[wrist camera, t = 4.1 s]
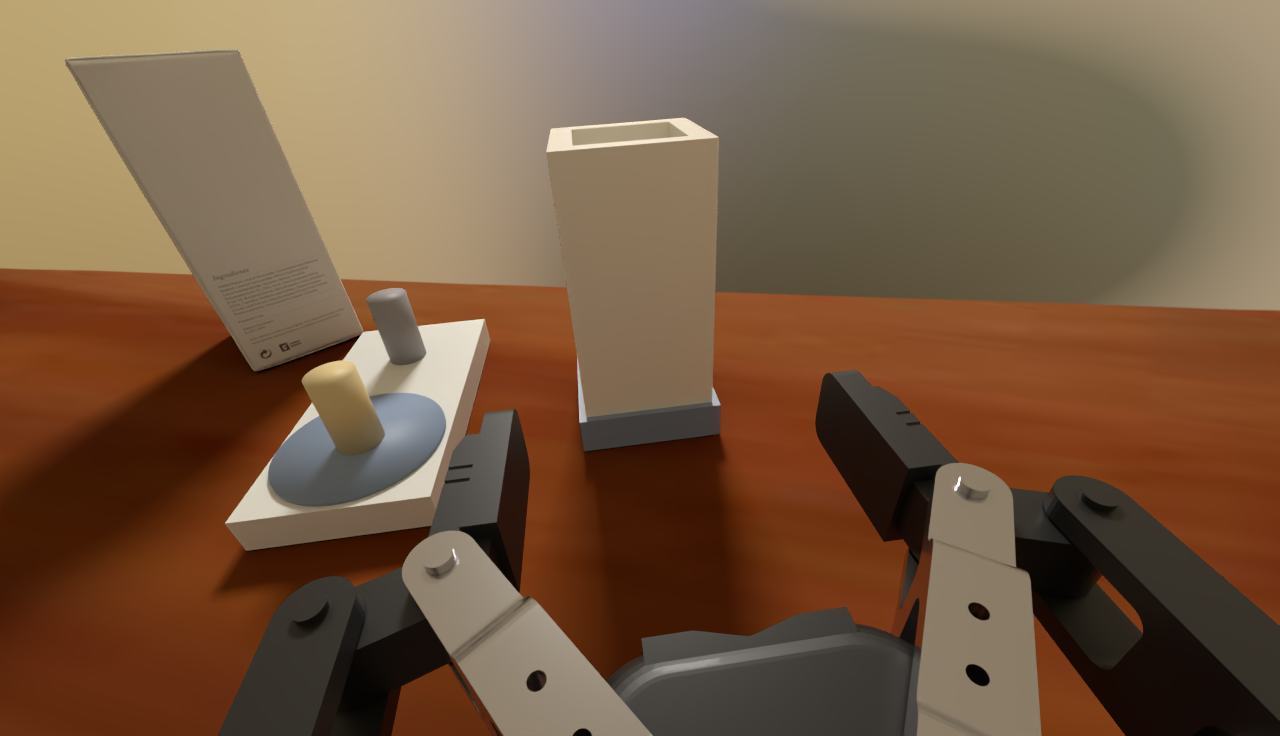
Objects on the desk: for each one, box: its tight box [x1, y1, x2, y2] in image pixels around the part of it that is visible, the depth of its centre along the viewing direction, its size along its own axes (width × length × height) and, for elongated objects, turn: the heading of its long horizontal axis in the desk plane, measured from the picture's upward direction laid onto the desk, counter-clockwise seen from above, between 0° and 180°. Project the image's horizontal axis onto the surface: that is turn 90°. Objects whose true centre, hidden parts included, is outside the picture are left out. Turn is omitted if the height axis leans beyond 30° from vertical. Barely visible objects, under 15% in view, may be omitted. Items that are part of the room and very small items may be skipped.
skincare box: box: [65, 50, 363, 371], centre depth 28 cm, size 8×7×16 cm
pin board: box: [225, 288, 490, 551], centre depth 23 cm, size 14×7×5 cm, turn 7°
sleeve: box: [546, 118, 721, 451], centre depth 21 cm, size 6×6×12 cm
